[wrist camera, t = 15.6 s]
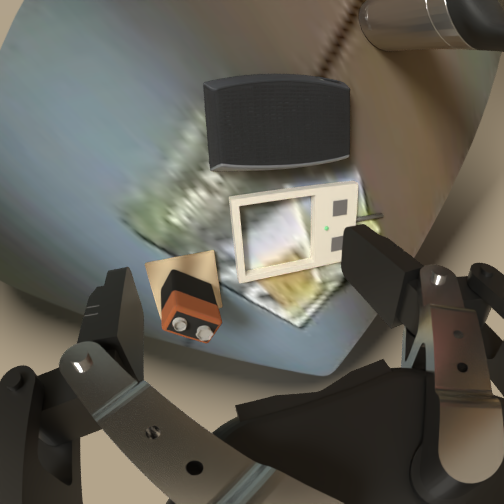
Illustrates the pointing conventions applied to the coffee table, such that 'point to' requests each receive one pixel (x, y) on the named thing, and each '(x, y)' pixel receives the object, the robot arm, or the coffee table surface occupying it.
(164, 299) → the battery
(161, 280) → the cork pad
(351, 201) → the charging dock
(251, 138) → the external hard drive
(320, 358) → the coffee table surface
